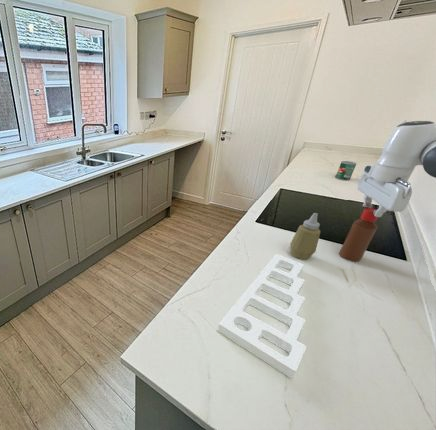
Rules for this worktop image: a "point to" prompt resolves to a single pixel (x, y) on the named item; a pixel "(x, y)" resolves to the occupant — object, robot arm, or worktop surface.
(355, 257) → the bottle
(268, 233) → the worktop surface
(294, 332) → the holder
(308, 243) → the squeeze bottle
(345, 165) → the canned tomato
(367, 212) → the cap
